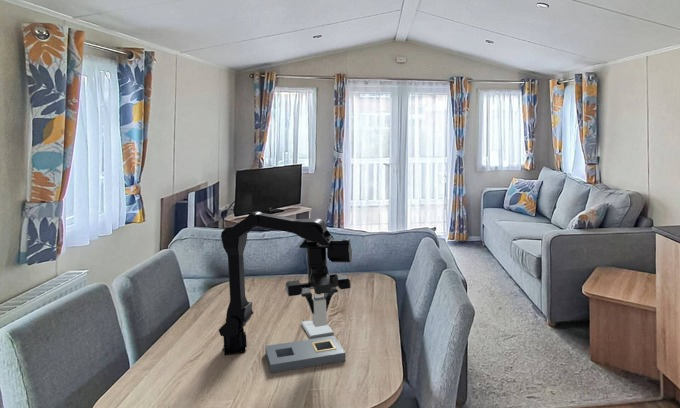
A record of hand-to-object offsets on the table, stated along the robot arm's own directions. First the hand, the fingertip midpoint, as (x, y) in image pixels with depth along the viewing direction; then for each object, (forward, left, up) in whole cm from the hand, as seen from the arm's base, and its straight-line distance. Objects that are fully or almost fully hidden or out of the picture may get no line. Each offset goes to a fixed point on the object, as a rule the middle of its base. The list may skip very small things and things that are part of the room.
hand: (319, 312), depth 128 cm
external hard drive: (+3, +18, -14) cm, 23 cm away
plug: (0, 0, -4) cm, 4 cm away
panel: (-5, 0, -14) cm, 14 cm away
